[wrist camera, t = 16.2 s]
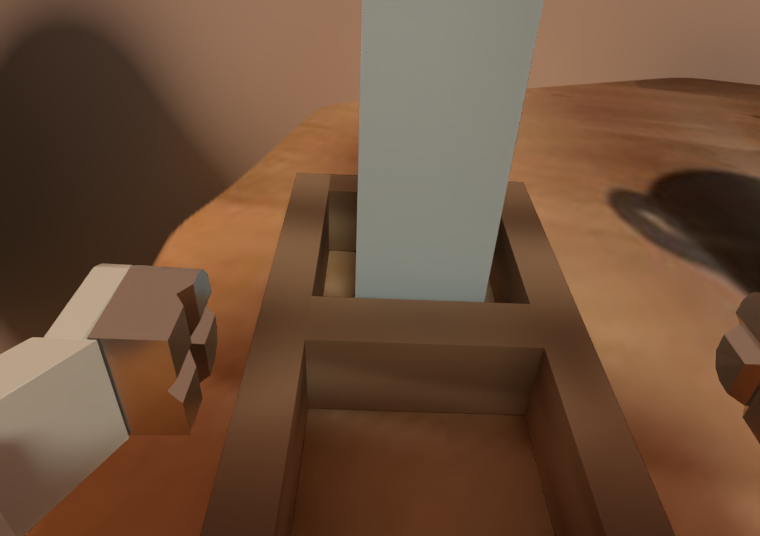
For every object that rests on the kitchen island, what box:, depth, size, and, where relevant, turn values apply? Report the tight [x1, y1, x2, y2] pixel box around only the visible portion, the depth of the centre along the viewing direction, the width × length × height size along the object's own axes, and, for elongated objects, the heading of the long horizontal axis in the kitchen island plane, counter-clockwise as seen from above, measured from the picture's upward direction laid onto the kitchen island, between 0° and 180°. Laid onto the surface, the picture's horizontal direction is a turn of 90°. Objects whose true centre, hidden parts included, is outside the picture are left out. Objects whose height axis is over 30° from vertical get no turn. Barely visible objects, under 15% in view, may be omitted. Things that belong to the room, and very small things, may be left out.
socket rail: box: [200, 173, 675, 536], centre depth 18 cm, size 19×10×3 cm, turn 0°
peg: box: [355, 0, 544, 302], centre depth 19 cm, size 4×4×12 cm
